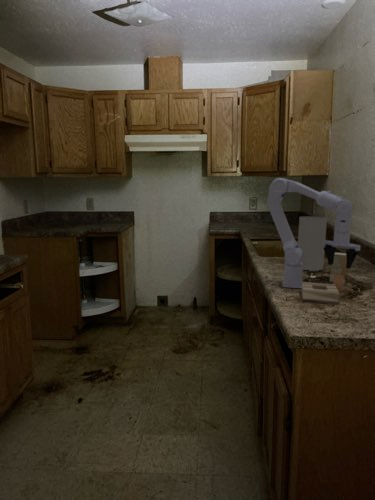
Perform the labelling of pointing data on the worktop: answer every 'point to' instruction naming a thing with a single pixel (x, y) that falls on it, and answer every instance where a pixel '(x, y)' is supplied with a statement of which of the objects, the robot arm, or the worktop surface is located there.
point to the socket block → (320, 293)
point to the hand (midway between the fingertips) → (339, 266)
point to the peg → (338, 282)
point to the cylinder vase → (312, 242)
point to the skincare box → (338, 266)
